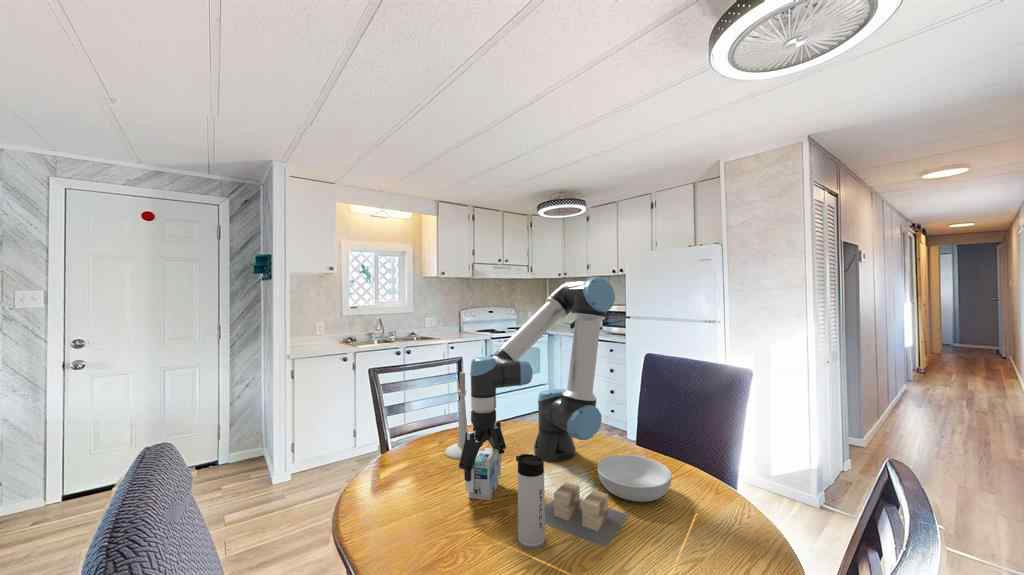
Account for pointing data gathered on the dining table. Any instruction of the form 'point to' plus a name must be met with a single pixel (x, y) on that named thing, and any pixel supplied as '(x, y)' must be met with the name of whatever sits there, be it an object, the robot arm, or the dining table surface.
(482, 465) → the light bulb box
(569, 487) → the beige wooden block
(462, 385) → the candlestick
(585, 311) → the robot arm
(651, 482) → the serving bowl
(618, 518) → the mat
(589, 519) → the block
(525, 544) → the travel mug
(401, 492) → the dining table surface
